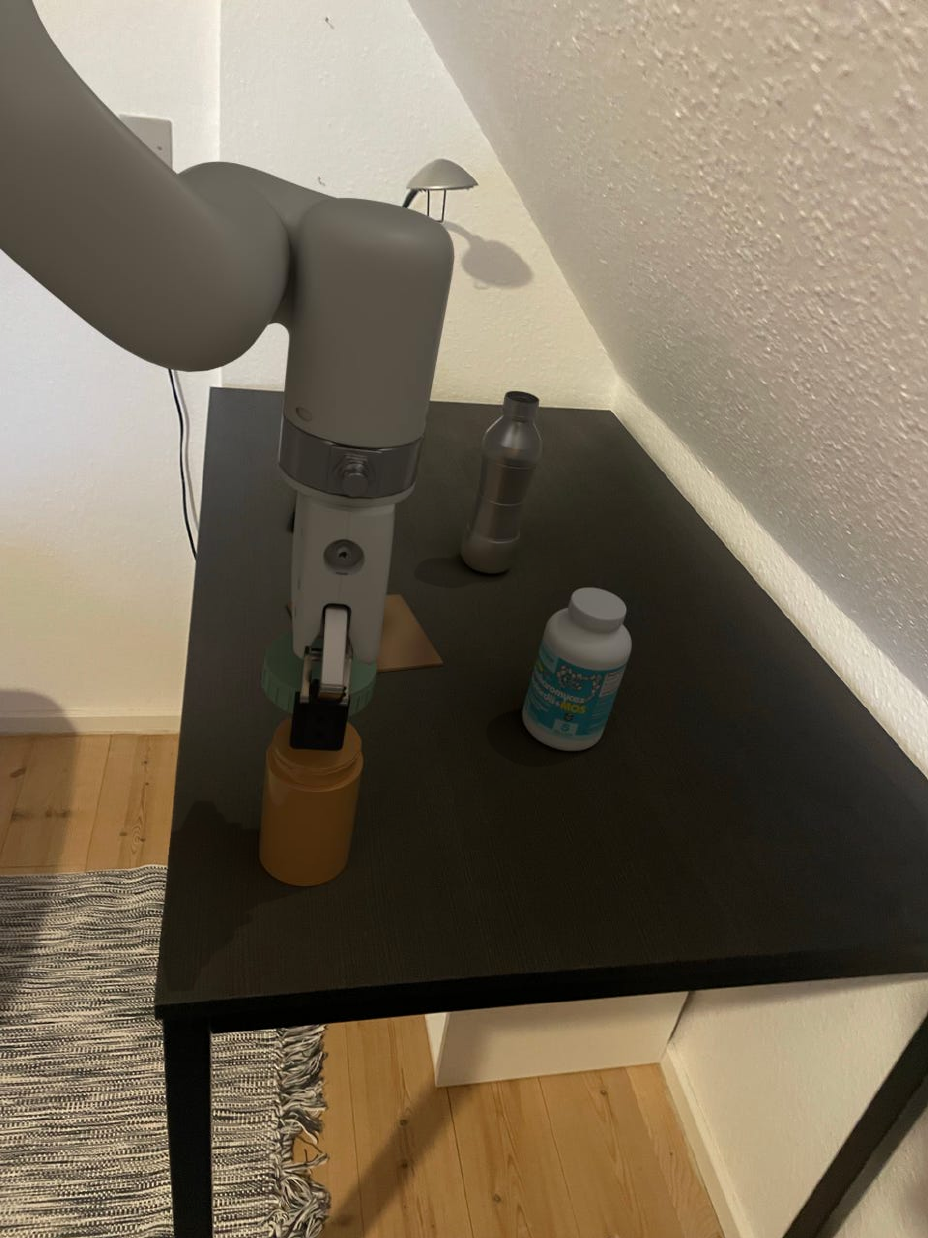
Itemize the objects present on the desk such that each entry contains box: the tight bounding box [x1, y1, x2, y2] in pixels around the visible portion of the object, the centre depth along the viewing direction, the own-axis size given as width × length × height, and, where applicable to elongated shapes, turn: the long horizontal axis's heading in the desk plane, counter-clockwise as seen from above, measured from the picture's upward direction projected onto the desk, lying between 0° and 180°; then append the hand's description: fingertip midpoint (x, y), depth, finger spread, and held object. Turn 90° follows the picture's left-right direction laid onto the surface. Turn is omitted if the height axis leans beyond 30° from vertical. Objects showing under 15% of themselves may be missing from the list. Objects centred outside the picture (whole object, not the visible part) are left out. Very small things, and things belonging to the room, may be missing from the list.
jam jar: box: [258, 716, 364, 887], centre depth 65 cm, size 6×6×11 cm
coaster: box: [286, 593, 444, 674], centre depth 91 cm, size 12×12×1 cm
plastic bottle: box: [460, 390, 543, 574], centre depth 102 cm, size 6×7×20 cm
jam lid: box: [260, 630, 378, 717], centre depth 59 cm, size 7×7×2 cm
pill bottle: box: [521, 587, 633, 752], centre depth 81 cm, size 8×7×14 cm
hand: (315, 705), depth 60 cm, fingers closed on jam lid, 6 cm apart
